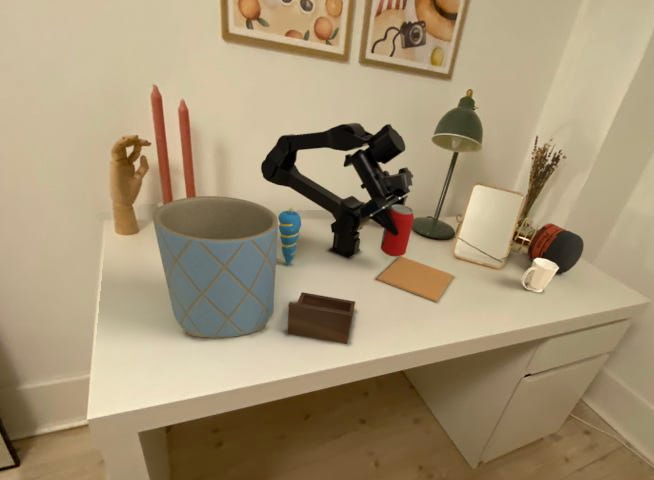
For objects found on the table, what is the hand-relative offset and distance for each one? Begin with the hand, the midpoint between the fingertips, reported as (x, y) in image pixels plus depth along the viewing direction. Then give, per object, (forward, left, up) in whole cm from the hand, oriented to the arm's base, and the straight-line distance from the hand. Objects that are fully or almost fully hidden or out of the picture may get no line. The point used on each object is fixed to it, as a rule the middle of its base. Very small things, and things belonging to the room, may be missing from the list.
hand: (402, 230), depth 95 cm
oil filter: (+38, +39, -12) cm, 56 cm away
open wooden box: (-1, -32, -11) cm, 34 cm away
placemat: (+7, 0, -11) cm, 13 cm away
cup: (+35, +19, -12) cm, 41 cm away
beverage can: (-1, 0, -7) cm, 7 cm away
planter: (-17, -42, -12) cm, 46 cm away
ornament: (-21, -18, -12) cm, 30 cm away
